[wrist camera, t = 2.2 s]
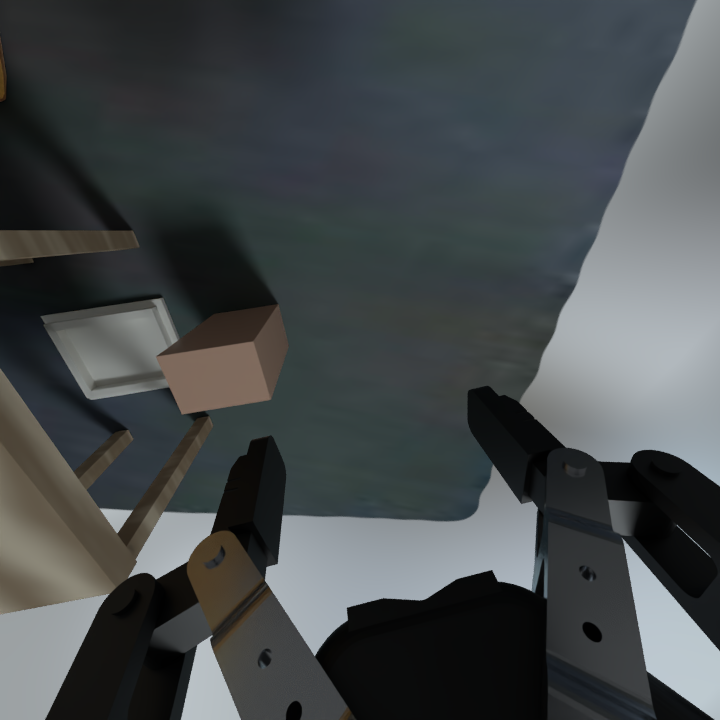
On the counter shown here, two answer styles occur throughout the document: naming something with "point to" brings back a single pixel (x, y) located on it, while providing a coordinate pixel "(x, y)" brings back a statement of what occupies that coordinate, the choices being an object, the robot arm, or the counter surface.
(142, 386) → the tray
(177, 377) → the plain brown box
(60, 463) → the small wooden table
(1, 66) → the pancake mix bag
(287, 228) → the counter surface
